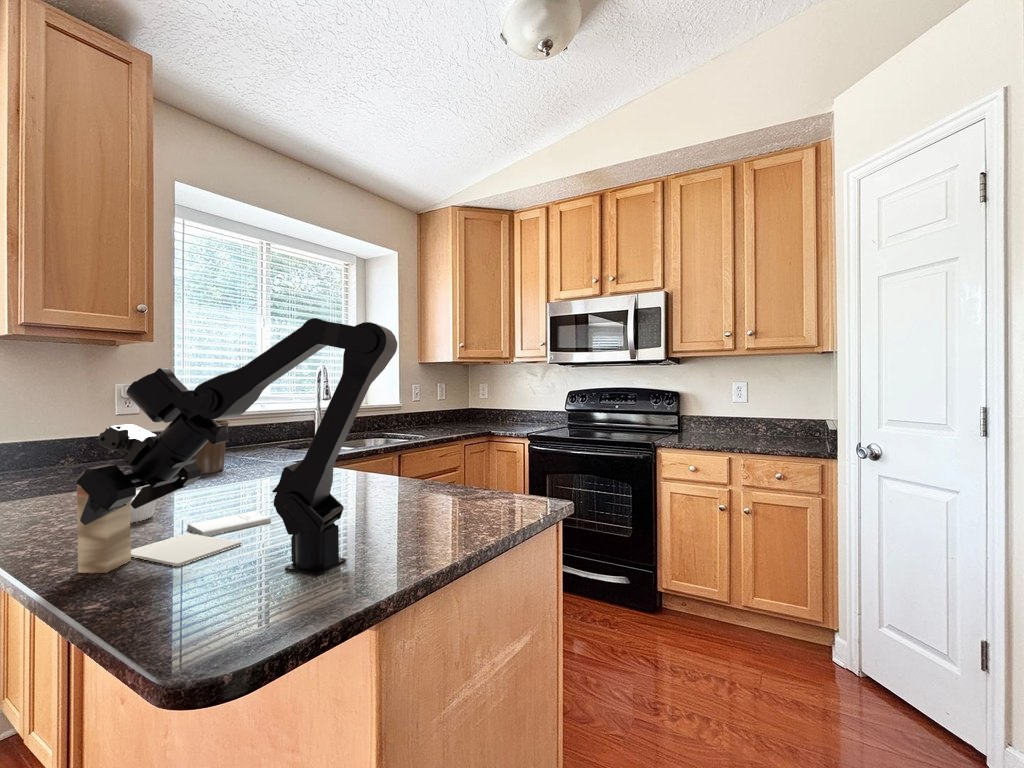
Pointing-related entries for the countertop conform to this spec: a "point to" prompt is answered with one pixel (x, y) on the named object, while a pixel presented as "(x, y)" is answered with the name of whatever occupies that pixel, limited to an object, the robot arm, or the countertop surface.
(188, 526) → the external hard drive
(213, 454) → the plant pot
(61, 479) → the countertop surface
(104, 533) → the post
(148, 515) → the ramekin
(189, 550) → the mat
